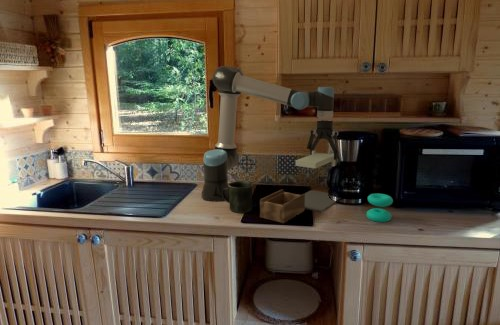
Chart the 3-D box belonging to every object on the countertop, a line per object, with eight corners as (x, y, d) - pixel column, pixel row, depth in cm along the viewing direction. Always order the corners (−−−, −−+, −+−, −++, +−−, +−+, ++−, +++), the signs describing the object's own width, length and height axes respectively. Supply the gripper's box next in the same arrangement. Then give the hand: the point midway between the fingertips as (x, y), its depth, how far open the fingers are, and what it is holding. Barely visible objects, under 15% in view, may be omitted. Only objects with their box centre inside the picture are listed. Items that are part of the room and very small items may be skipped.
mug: (249, 214, 156) (249, 188, 153) (218, 211, 160) (217, 186, 157) (255, 206, 166) (255, 182, 163) (226, 204, 170) (225, 179, 167)
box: (259, 217, 153) (260, 199, 151) (281, 205, 167) (282, 189, 165) (283, 223, 146) (284, 204, 144) (304, 210, 160) (304, 193, 158)
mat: (286, 204, 169) (286, 203, 168) (311, 191, 189) (311, 189, 189) (321, 212, 158) (321, 211, 158) (343, 197, 179) (343, 196, 178)
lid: (295, 165, 163) (295, 160, 162) (316, 157, 180) (317, 152, 179) (315, 168, 157) (315, 163, 156) (335, 159, 174) (335, 154, 174)
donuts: (369, 199, 145) (366, 192, 154) (367, 222, 147) (364, 213, 156) (395, 200, 143) (390, 193, 152) (393, 223, 145) (388, 215, 155)
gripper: (300, 119, 174) (299, 163, 179) (344, 121, 161) (342, 169, 166) (307, 117, 180) (306, 160, 185) (350, 120, 167) (348, 166, 172)
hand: (323, 164), depth 175 cm, fingers closed on lid, 10 cm apart
